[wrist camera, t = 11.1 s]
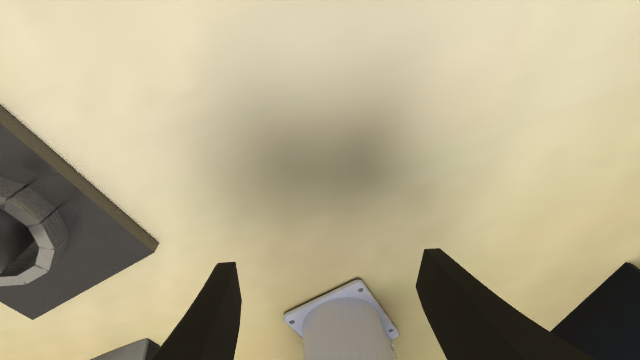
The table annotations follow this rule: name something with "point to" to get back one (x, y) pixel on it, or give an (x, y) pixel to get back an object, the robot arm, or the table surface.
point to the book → (607, 319)
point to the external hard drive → (132, 351)
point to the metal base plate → (59, 226)
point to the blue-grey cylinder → (12, 239)
